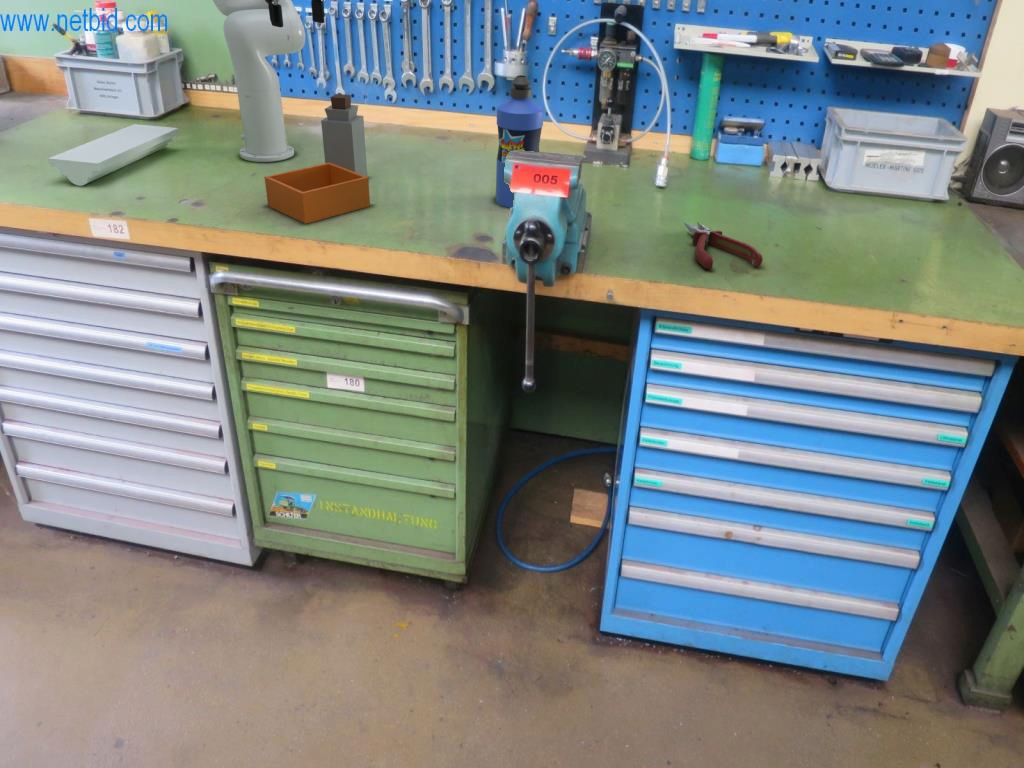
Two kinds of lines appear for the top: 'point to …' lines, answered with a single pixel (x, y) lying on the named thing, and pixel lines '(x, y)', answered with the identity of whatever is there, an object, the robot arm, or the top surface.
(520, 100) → the water bottle
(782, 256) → the top surface
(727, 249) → the pliers
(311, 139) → the top surface
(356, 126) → the perfume bottle
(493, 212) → the top surface
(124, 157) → the shelf
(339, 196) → the box
